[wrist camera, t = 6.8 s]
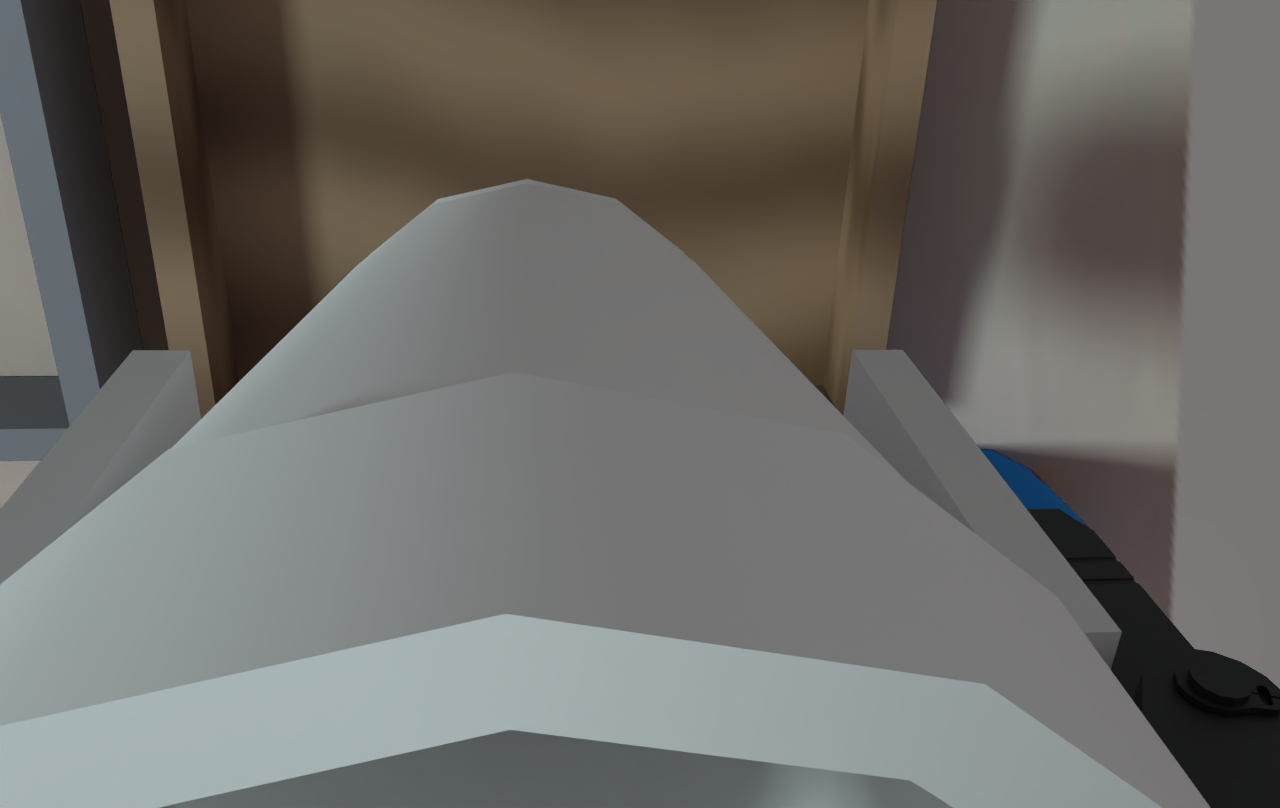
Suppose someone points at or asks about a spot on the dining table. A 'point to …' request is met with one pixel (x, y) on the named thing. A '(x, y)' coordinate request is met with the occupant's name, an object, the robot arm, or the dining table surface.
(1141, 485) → the dining table surface
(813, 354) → the bin
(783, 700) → the foam cup
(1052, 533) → the robot arm
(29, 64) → the bin
